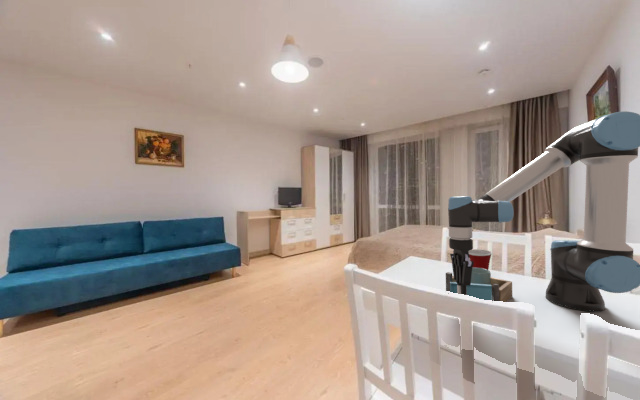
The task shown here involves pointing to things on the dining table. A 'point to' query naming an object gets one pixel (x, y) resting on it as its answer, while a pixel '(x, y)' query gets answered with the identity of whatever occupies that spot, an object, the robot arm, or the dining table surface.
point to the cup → (480, 276)
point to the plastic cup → (480, 258)
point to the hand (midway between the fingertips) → (462, 302)
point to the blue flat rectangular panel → (475, 290)
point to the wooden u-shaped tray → (499, 287)
